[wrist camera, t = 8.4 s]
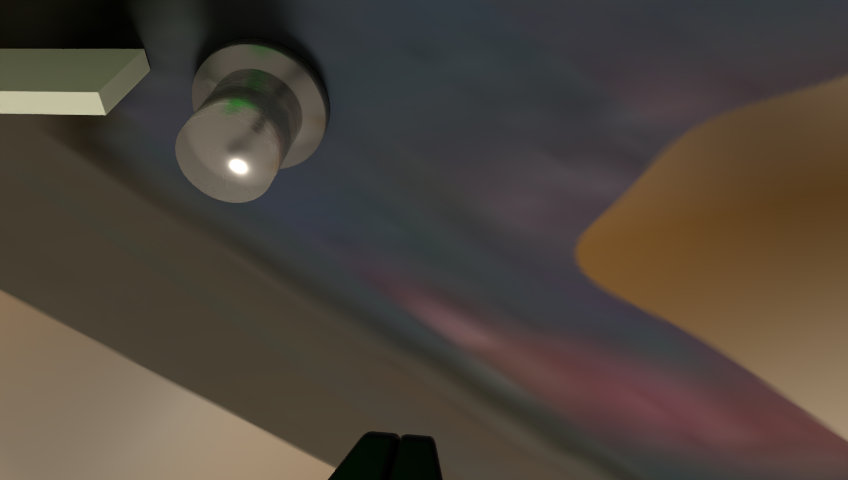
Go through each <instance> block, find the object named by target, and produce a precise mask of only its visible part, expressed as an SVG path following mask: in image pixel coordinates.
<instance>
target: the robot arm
mask: <svg viewBox="0 0 848 480" xmlns="http://www.w3.org/2000/svg"><path fill="white" fill-rule="evenodd" d="M328 480H443V478H442V473H441V468H440V463H439V458H438V453H437V448H436V443H435V440H434V439H433V438H432V437H431V436H422V435H410V434H406V435H403V436H401V438H400V437H399V435H397V434H395V433H386V432H374V431H371V432H367V433H366V434H364V435H363V436H362V437H361V438H360V440H359V441H358V442H357V443H356V445H355V446H354V447H353V448H352V450H351V451H350V452H349V454H348V455H347V456H346V457H345V459H344V460H343V461H342V462H341V464H340V465H339V466H338V467H337V469H336V470H335V472H334V473H333V474H332V475H331V476H330V478H329V479H328Z"/></svg>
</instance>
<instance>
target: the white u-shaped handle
mask: <svg viewBox="0 0 848 480" xmlns="http://www.w3.org/2000/svg"><path fill="white" fill-rule="evenodd" d="M149 71H150V67H149V64H148V61H147V57H146V54H145V51H144V49H0V113H14V114H75V115H106V114H107V113H108V112H109V111H110V110H111V109H112V108H113V107H114V106H115V105H116V104H117V103H118V102H119V101H120V100H121V99H122V98H123V97H124V96H125V95H126V94H127V93H128V92H129V91H130V90H131V89H132V88H133V87H134V86H135V85H136V84H137V83H138V82H139V81H140V80H141V79H142V78H143V77H144V76H145V75H146V74H147V73H148V72H149Z"/></svg>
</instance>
